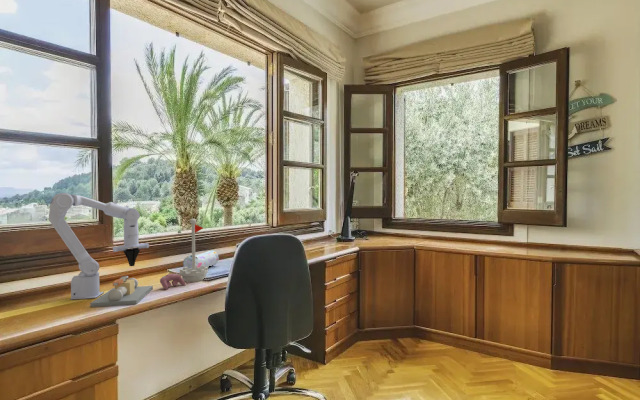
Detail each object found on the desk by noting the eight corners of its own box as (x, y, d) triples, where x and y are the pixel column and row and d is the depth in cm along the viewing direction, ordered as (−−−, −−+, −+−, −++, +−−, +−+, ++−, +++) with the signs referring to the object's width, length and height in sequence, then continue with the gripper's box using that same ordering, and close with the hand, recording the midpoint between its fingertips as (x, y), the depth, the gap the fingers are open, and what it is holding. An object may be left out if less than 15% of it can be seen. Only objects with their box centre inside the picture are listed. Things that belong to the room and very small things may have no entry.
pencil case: (194, 273, 188) (193, 255, 188) (181, 272, 192) (181, 254, 192) (219, 266, 208) (219, 249, 207) (208, 265, 211) (207, 249, 211)
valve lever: (122, 279, 147) (122, 275, 147) (129, 278, 148) (129, 275, 148) (112, 286, 136) (112, 282, 136) (119, 285, 136) (119, 281, 136)
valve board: (90, 307, 133) (90, 288, 133) (113, 291, 155) (113, 275, 155) (136, 304, 136) (136, 286, 136) (152, 289, 158) (152, 273, 157)
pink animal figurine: (181, 287, 166) (177, 273, 167) (186, 284, 163) (182, 270, 165) (161, 292, 158) (157, 277, 160) (166, 289, 155) (161, 274, 157)
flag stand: (185, 283, 167) (183, 219, 166) (176, 278, 177) (175, 218, 177) (212, 279, 175) (211, 218, 175) (202, 274, 185) (201, 217, 185)
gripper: (117, 237, 149) (117, 269, 150) (151, 234, 161) (152, 264, 161) (110, 236, 154) (111, 267, 154) (144, 233, 165) (145, 262, 165)
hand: (131, 265), depth 158 cm, fingers closed
